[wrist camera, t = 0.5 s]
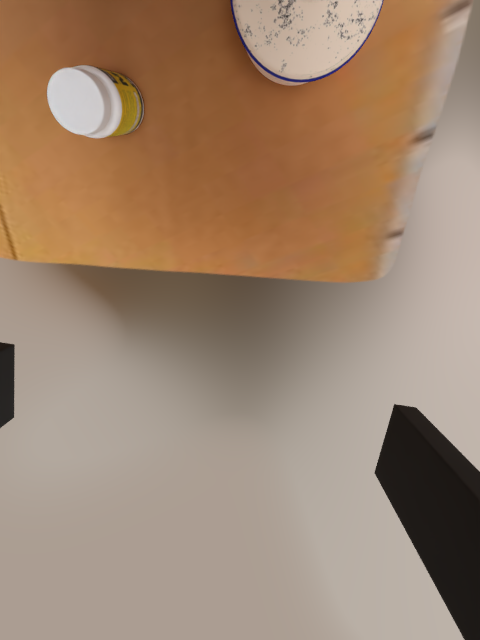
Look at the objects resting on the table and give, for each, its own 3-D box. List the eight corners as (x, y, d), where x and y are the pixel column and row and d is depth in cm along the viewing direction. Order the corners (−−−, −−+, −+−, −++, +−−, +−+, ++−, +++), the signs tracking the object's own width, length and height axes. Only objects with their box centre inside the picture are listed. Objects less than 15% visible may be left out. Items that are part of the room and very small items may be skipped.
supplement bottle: (145, 77, 30) (109, 67, 23) (144, 138, 32) (111, 146, 25) (89, 67, 30) (35, 54, 23) (93, 129, 32) (45, 135, 25)
